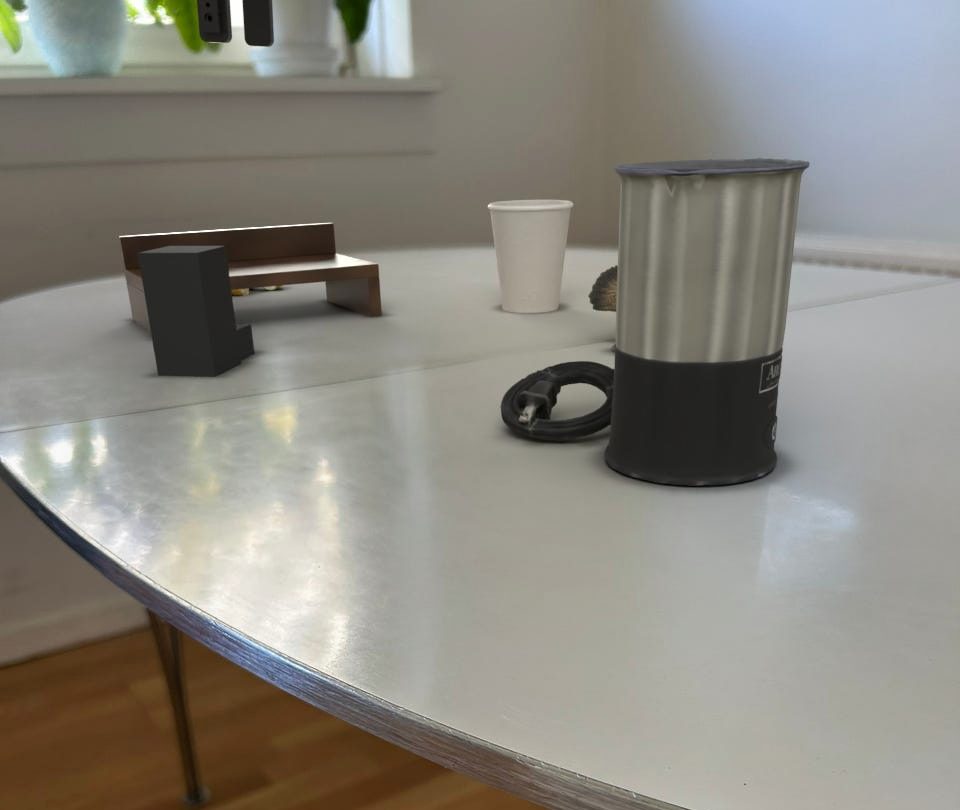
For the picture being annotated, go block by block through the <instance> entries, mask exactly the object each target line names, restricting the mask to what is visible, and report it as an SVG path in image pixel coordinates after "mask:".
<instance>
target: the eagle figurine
mask: <svg viewBox="0 0 960 810" xmlns="http://www.w3.org/2000/svg"><path fill="white" fill-rule="evenodd" d="M617 273H618V264H615V265H614V266H611V267H609V268H608V269H605V271H602V272H601V273H600V274H599V276H598V277H597V278H596V279H595V282H594V283H593V284H592V286H591V291H590V292H589V294H588V295H587V296H588V299H589V304H591V305H592V310H593V311H599V312H614V313H616V302H617ZM614 342H615V343H614V344H613V345H612V346H611V347H610V349H611V350H613V353H615V345H616V340H615V341H614Z"/></svg>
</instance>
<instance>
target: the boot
mask: <svg viewBox="0 0 960 810" xmlns="http://www.w3.org/2000/svg"><path fill="white" fill-rule="evenodd" d="M138 259H139V265H140V271H141V277H142V282H143V288H144V294H145V300H146V306H147V312H148V318H149V324H150V330H151V333H150V335H151V342H152V347H153V351H154V352H153V353H154V359H155V365H156V371H157V375H158V376H159V377H190V378H191V377H198V378H217V377H218V376H221V375H222V374H224V373H226V372H229V371H230V370H232V369H234V368H236V367H238V366H241V365H242V361H244V360H245V359H247V358H250V357H251V356H253V355H255V354H256V353H255V346H254V345H255V344H254V338H253V330H252V329H253V328H252V324H251V323H236V315H235V308H234V300H233V294H232V291H231V284H230V276H229V269H228V261H227V253H226V246H167V247H162V248H158V249H153V250H149V251H144V252H140V253H138Z"/></svg>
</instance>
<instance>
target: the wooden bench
mask: <svg viewBox="0 0 960 810" xmlns="http://www.w3.org/2000/svg"><path fill="white" fill-rule="evenodd" d="M118 243H119V249H120V255H121V259H122V265H123V272H124V276H125V277H124V278H125V281H126V287H127V288H126V289H127V293H128V299H129V304H130V310H131V316H132V320H133V322H134V323H136V324H137V325H139V326H140V327H141V328H143V329H144V330H145V331H146V332H148V333H149V334H151V330H150V324H149V318H148V312H147V306H146V300H145V294H144V288H143V282H142V277H141V271H140V265H139V259H138V253H140V252H144V251H149V250H153V249H158V248H162V247H167V246H226V253H227V261H228V269H229V276H230V284H231V290H236V289H248V288H250V289H258V288H263V287H270V286H281V285H283V286H290V285H301V284H303V285H304V284H313V283H324V284H325V293H326V301H327V302H328V303H330V304H334V305H335V306H336V305H337V306H338V307H341V308H345V309H347V310H350V311H353V312H356V313H359V314H361V315H364V316H366V317H369V318H377V317H383V313H382V311H383V310H382V296H381V283H380V267H379V263H376V262H371V261H369V260H365V259H364V260H363V259H360V258H355V257H351V256H348V255H344V254H340V253H337V248H336V236H335V223H334V222H322V223H321V222H320V223H303V224H290V225H289V224H288V225H274V226H273V225H272V226H260V227H258V226H257V227H241V228H228V229H227V228H225V229H212V230H197V231H196V230H195V231H180V232H179V231H178V232H166V233H165V232H164V233H148V234H135V235H119V236H118ZM281 287H282V286H281Z"/></svg>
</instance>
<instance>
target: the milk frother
mask: <svg viewBox="0 0 960 810" xmlns="http://www.w3.org/2000/svg"><path fill="white" fill-rule="evenodd" d="M810 165H811V164H810V161H805V160H801V159H798V160H796V159H789V158H788V159H787V158H784V159H779V158H762V157H758V158H744V159H743V158H742V159H735V158H722V159H721V158H720V159H710V158H709V159H692V160H690V159H688V160H686V159H685V160H667V161H666V160H665V161H645V162H638V163H637V162H636V163H626V164H625V163H624V164H619V165H616V166H614V168H613V169H614V172H615V173H616V174H617V175H618V176H619V179H620V183H619V185H620V186H619V187H620V188H619V212H618V213H619V214H618V215H619V216H618V218H619V219H618V247H617V266H618V273H617V302H616V312H615V337H614V338H615V341H616V342H615V344H616V345H615V352H614V368H612V367H610V366H608V365H605V364H603V363H599V362H595V361H588V360H576V361H567V362H560V363H557V364H554V365H551V366H547V367H544V368H543V369H541V370H540V369H539V370H536V371H535V372H531V373H529V374H527V375H526V377H524V378H521V379H520V380H518V381H517V382H515V383H514V384H513V385H512V386H511V387H509V389H507V391H506V392H505V393H504V395H503V397H502V399H501V402H500V415H501V416H500V417H501V419H502V422H503V423H504V424H505V426H506V427H508V428H509V429H511V430H512V431H514V432H515V433H518V434H521V435H524V436H526V437H531V438H533V439H540V440H550V441H570V440H576V439H580V438H584V437H588V436H591V435H594V434H596V433H599V432H601V431H603V430H605V429H607V428H608V427H609V426H610V430H609V439H608V444H607V446H606V448H605V451H604V456H603V457H604V460H605V462H606V463H607V464H608V466H609V467H611V468H612V469H614V470H615V471H616V472H618V473H620V474H623V475H625V476H629V477H632V478H634V479H635V478H637V479H639V480H644V481H647V482H652V483H656V484H662V485H663V484H664V485H674V486H689V487H697V486H699V487H702V486H720V485H721V486H722V485H731V484H738V483H744V482H748V481H753V480H755V479H758V478H761V477H763V476H766V475H767V474H768V473H770V472H772V470H774V468H775V467H776V466H777V463H778V455H777V453H776V451H775V443H776V439H777V429H778V428H777V427H778V416H777V408H778V398H779V384H780V379H781V373H782V364H783V363H782V362H783V350H784V348H783V346H784V340H785V333H786V326H787V325H786V324H787V317H788V316H787V315H788V305H789V298H790V297H789V296H790V286H791V277H792V269H793V260H794V259H793V257H794V249H795V239H796V229H797V219H798V212H799V211H798V209H799V201H800V191H801V184H802V183H801V182H802V175H803V173H804V172H805V171H806V170H807V169H809V167H810ZM576 384H577V385H578V384H586V385H590V386H592V387H594V388H596V389H598V390H600V391H601V392H603V394H604V395H605V397H606V400H605V402H604V403H603V404H602V405H601V406H600V407H598V408H597V409H595V410H594V411H592V412H590V413H587V414H584V415H582V416H577V417H573V418H567V419H551V414H552V411H553V410H552V409H553V408H554V407H555V406H556V405H557V404H558V395H559V394H560V393H561V390H562V387H564V386H569V385H576Z"/></svg>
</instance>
